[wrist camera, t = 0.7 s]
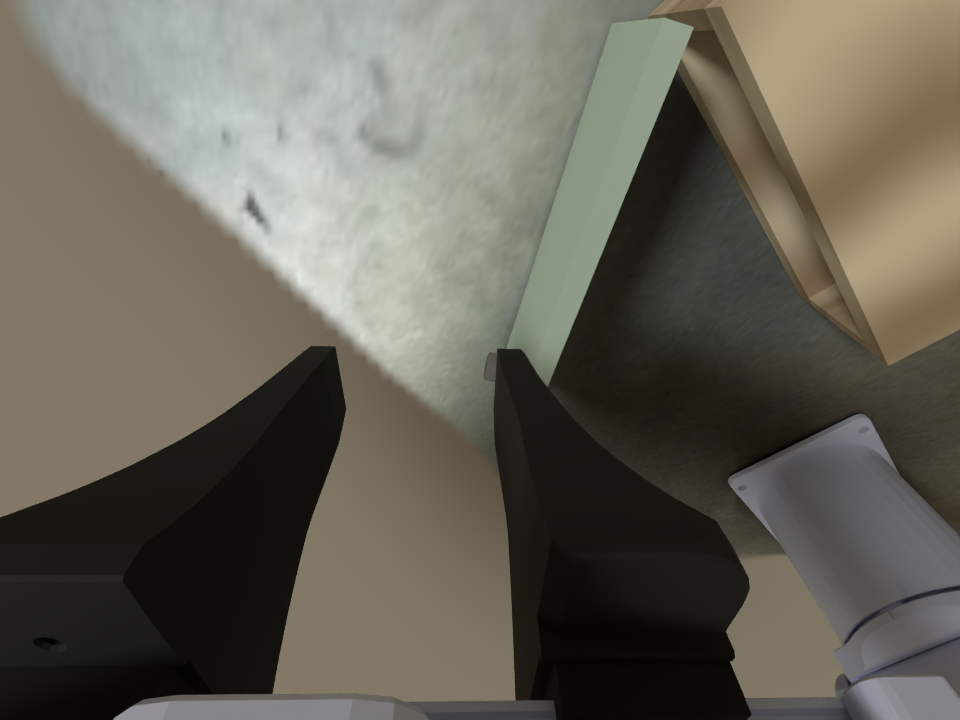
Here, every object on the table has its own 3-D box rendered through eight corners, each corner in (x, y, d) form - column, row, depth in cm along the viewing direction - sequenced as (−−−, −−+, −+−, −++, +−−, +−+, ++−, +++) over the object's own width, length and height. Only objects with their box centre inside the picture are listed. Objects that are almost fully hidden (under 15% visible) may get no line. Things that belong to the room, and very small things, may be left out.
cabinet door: (517, 365, 23) (527, 435, 19) (477, 358, 23) (480, 428, 19) (634, 30, 16) (693, 27, 11) (577, 13, 15) (617, 3, 11)
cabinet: (1059, 141, 18) (1258, 175, 13) (800, 297, 22) (888, 366, 17) (992, -305, 12) (1313, -517, 7) (647, 16, 16) (721, 6, 11)
